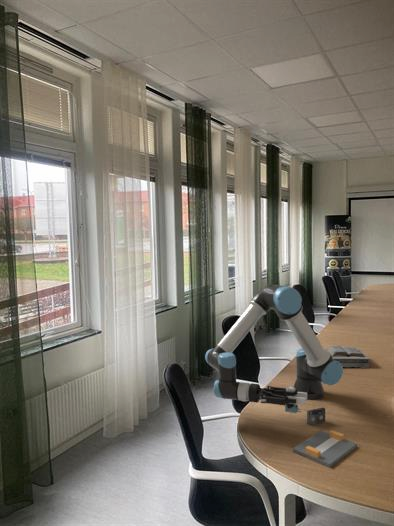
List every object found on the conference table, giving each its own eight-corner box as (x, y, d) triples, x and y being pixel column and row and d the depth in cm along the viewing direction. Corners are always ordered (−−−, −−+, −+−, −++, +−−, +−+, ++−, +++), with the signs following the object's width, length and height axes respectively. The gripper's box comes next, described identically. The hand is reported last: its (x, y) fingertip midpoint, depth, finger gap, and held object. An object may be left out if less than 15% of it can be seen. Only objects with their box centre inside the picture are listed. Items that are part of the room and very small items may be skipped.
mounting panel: (321, 433, 164) (321, 425, 164) (356, 446, 153) (357, 438, 153) (292, 451, 151) (292, 443, 151) (329, 467, 140) (329, 458, 140)
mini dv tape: (323, 420, 176) (322, 407, 176) (325, 421, 175) (325, 408, 174) (307, 423, 173) (306, 410, 173) (309, 425, 172) (309, 411, 172)
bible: (321, 357, 269) (321, 342, 268) (365, 359, 262) (365, 344, 261) (323, 368, 247) (323, 352, 246) (371, 371, 240) (371, 354, 239)
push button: (302, 410, 166) (302, 386, 165) (299, 416, 162) (299, 391, 161) (286, 407, 169) (286, 384, 169) (283, 413, 165) (282, 389, 164)
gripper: (255, 393, 180) (309, 399, 172) (244, 409, 164) (303, 417, 155) (254, 376, 180) (308, 382, 171) (243, 391, 163) (302, 398, 155)
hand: (306, 398), depth 163 cm, fingers closed on push button, 5 cm apart
